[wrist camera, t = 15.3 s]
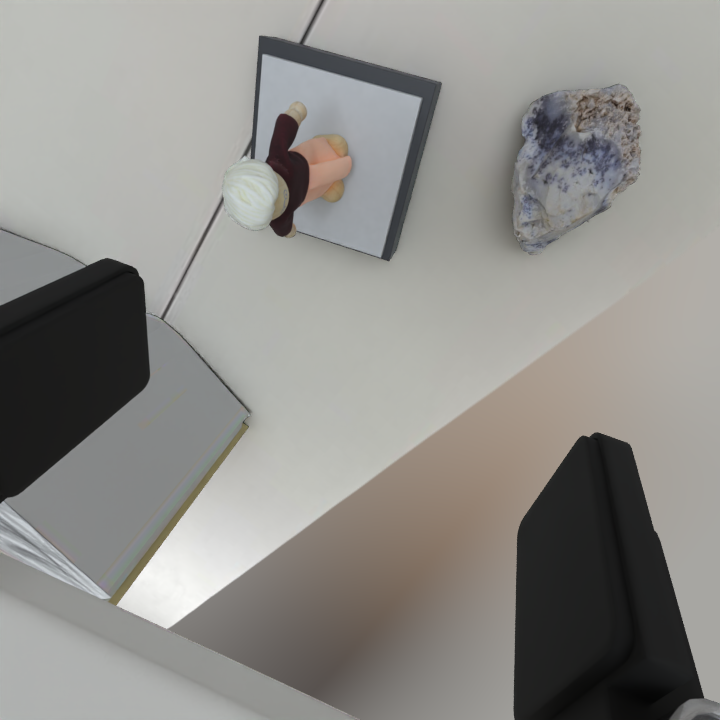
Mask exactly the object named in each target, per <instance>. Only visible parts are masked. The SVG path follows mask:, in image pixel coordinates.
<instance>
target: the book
mask: <svg viewBox="0 0 720 720" xmlns="http://www.w3.org/2000/svg"><path fill="white" fill-rule="evenodd" d="M84 267H86V265H85V264H83V263H81V262H79V261H78V260H76V259H74V258H72V257H71V256H69V255H67V254H64V253H62V252H59V251H57V250H54V249H52V248H49V247H47V246H44V245H41V244H39V243H36V242H33V241H31V240H28V239H25V238H23V237H20V236H17V235H15V234H12V233H9V232H6V231H4V230H1V229H0V305H3V304H5V303H7V302H9V301H11V300H14V299H16V298H18V297H20V296H22V295H25V294H27V293H29V292H31V291H33V290H36V289H38V288H40V287H42V286H44V285H47V284H49V283H51V282H53V281H55V280H58V279H60V278H62V277H64V276H66V275H69V274H71V273H73V272H75V271H77V270H80V269H82V268H84ZM146 320H147V335H148V349H149V364H150V379H149V382H148V384H147V386H146V387H145V389H144V390H143V391H141V392H140V393H139V394H138V395H137V396H136V397H134V398H133V399H132V400H131V401H130V402H128V403H127V404H126V405H125V406H124V407H122V408H121V409H120V410H119V411H118V412H117V413H115V414H114V415H113V416H112V417H111V418H109V419H108V420H107V421H106V422H105V423H103V424H102V425H101V426H100V427H99V428H98V429H96V430H95V431H94V432H93V433H92V434H90V435H89V436H88V437H87V438H86V439H85V440H83V441H82V442H81V443H80V444H79V445H77V446H76V447H75V448H74V449H73V450H71V451H70V452H69V453H68V454H67V455H66V456H64V457H63V458H62V459H61V460H60V461H58V462H57V463H56V464H55V465H54V466H52V467H51V468H50V469H49V470H48V471H47V472H45V473H44V474H43V475H42V476H41V477H39V478H38V479H37V480H36V481H35V482H33V483H32V484H31V485H30V486H29V487H28V488H26V489H25V490H24V491H23V492H21V493H20V494H19V495H17V496H15V497H10V498H7V499H5V500H4V501H3V502H2V503H1V504H0V553H2V554H5V555H7V556H9V557H11V558H13V559H16V560H18V561H20V562H22V563H24V564H26V565H29V566H31V567H33V568H35V569H37V570H40V571H42V572H44V573H46V574H48V575H51V576H53V577H55V578H57V579H59V580H61V581H64V582H66V583H68V584H70V585H72V586H74V587H76V588H79V589H81V590H83V591H85V592H87V593H89V594H92V595H94V596H96V597H98V598H100V599H102V600H105V601H107V602H109V603H111V604H113V605H115V606H116V605H117V604H118V602H119V601H120V600H121V598H122V597H123V596H124V594H125V593H126V592H127V590H128V589H129V588H130V586H131V585H132V583H133V582H134V581H135V579H136V578H137V577H138V575H139V574H140V573H141V571H142V570H143V569H144V567H145V566H146V565H147V563H148V562H149V561H150V559H151V558H152V557H153V555H154V554H155V552H156V551H157V550H158V548H159V547H160V546H161V544H162V543H163V542H164V540H165V539H166V538H167V536H168V535H169V534H170V532H171V531H172V530H173V528H174V527H175V526H176V524H177V523H178V522H179V520H180V519H181V517H182V516H183V515H184V513H185V512H186V511H187V509H188V508H189V507H190V505H191V504H192V503H193V501H194V500H195V499H196V497H197V496H198V495H199V493H200V492H201V491H202V489H203V488H204V486H205V485H206V484H207V482H208V481H209V480H210V478H211V477H212V476H213V474H214V473H215V472H216V470H217V469H218V468H219V466H220V465H221V464H222V462H223V461H224V460H225V458H226V457H227V455H228V454H229V453H230V451H231V450H232V449H233V447H234V446H235V445H236V443H237V442H238V441H239V439H240V438H241V437H242V435H243V434H244V433H245V431H246V430H247V428H248V426H247V425H245V424H244V423H243V421H244V420H245V419H246V417H249V416H251V414H250V413H249V412H248V411H247V410H246V409H245V407H244V406H243V405H242V404H241V403H240V402H239V401H238V400H237V399H236V397H235V396H234V395H233V394H232V393H231V392H230V391H229V390H228V388H227V387H226V386H225V385H224V384H223V383H222V382H221V380H220V379H219V378H218V377H217V376H216V375H215V374H214V372H213V371H212V370H211V369H210V368H209V367H208V366H207V364H206V363H205V362H204V361H203V360H202V359H201V358H200V356H199V355H198V354H197V353H196V352H195V351H194V350H193V348H192V347H191V346H190V345H189V344H188V343H187V342H186V341H185V340H184V339H183V338H182V336H181V335H180V334H179V333H178V332H176V331H175V330H174V329H173V328H172V327H171V326H169V325H168V324H167V323H166V322H165V321H163V320H162V319H160V318H158V317H156V316H154V315H151V314H148V313H146Z"/></svg>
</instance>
